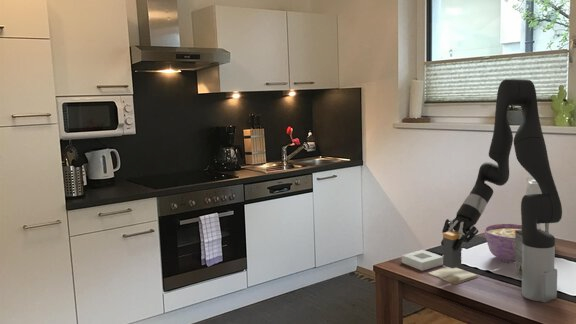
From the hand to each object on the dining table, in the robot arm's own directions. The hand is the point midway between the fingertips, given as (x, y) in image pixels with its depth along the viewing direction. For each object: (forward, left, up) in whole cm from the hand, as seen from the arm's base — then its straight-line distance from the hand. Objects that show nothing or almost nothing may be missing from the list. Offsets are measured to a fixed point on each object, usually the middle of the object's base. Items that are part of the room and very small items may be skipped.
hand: (448, 247), depth 181 cm
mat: (0, -2, -11) cm, 11 cm away
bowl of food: (-1, -33, -11) cm, 35 cm away
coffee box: (-16, -24, -11) cm, 31 cm away
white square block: (+15, -2, -11) cm, 19 cm away
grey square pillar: (0, -2, -7) cm, 7 cm away
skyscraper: (+8, -60, -11) cm, 61 cm away
